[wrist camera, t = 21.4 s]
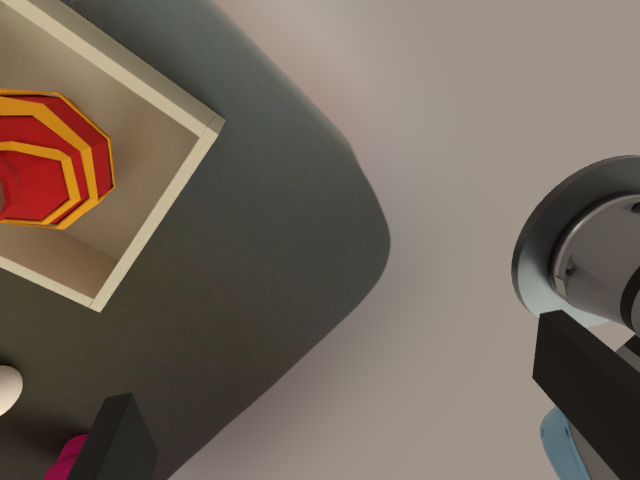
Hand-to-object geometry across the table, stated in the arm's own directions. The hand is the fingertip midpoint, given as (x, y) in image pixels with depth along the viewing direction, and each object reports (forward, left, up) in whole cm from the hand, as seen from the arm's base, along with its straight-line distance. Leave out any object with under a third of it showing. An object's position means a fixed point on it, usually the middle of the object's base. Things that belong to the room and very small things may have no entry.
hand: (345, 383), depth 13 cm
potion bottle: (+17, +9, -29) cm, 34 cm away
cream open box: (+17, +9, -29) cm, 35 cm away
